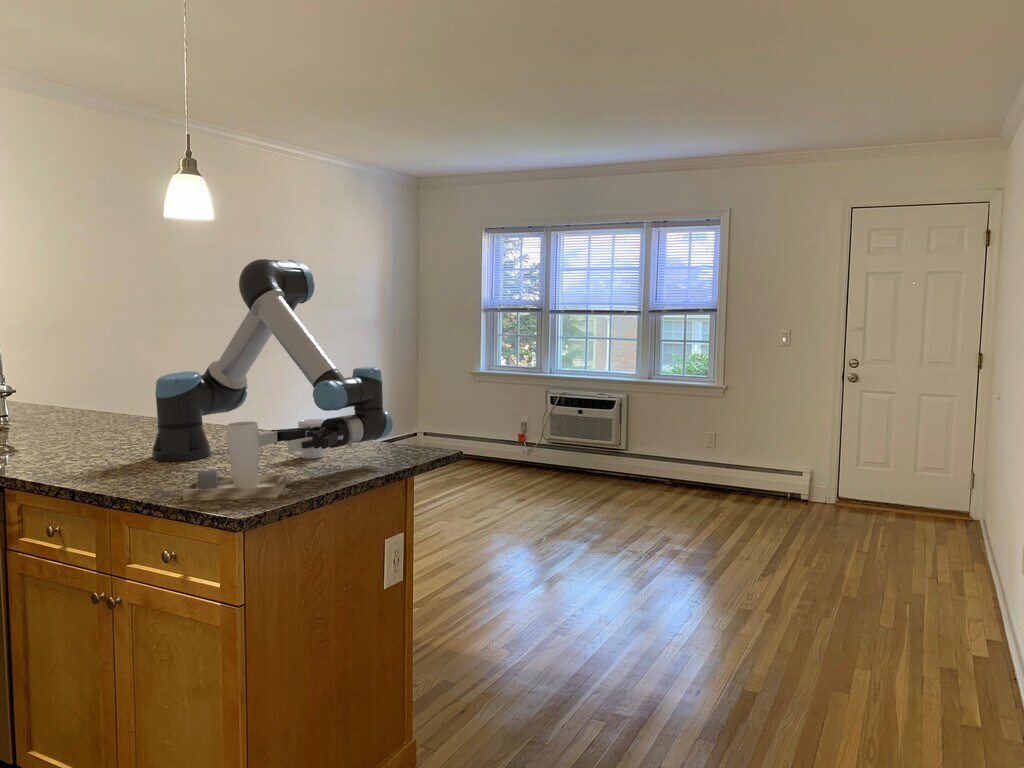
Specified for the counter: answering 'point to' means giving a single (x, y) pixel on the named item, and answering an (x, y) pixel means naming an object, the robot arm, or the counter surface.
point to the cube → (208, 479)
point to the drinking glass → (244, 453)
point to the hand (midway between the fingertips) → (270, 443)
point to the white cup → (313, 452)
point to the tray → (237, 489)
